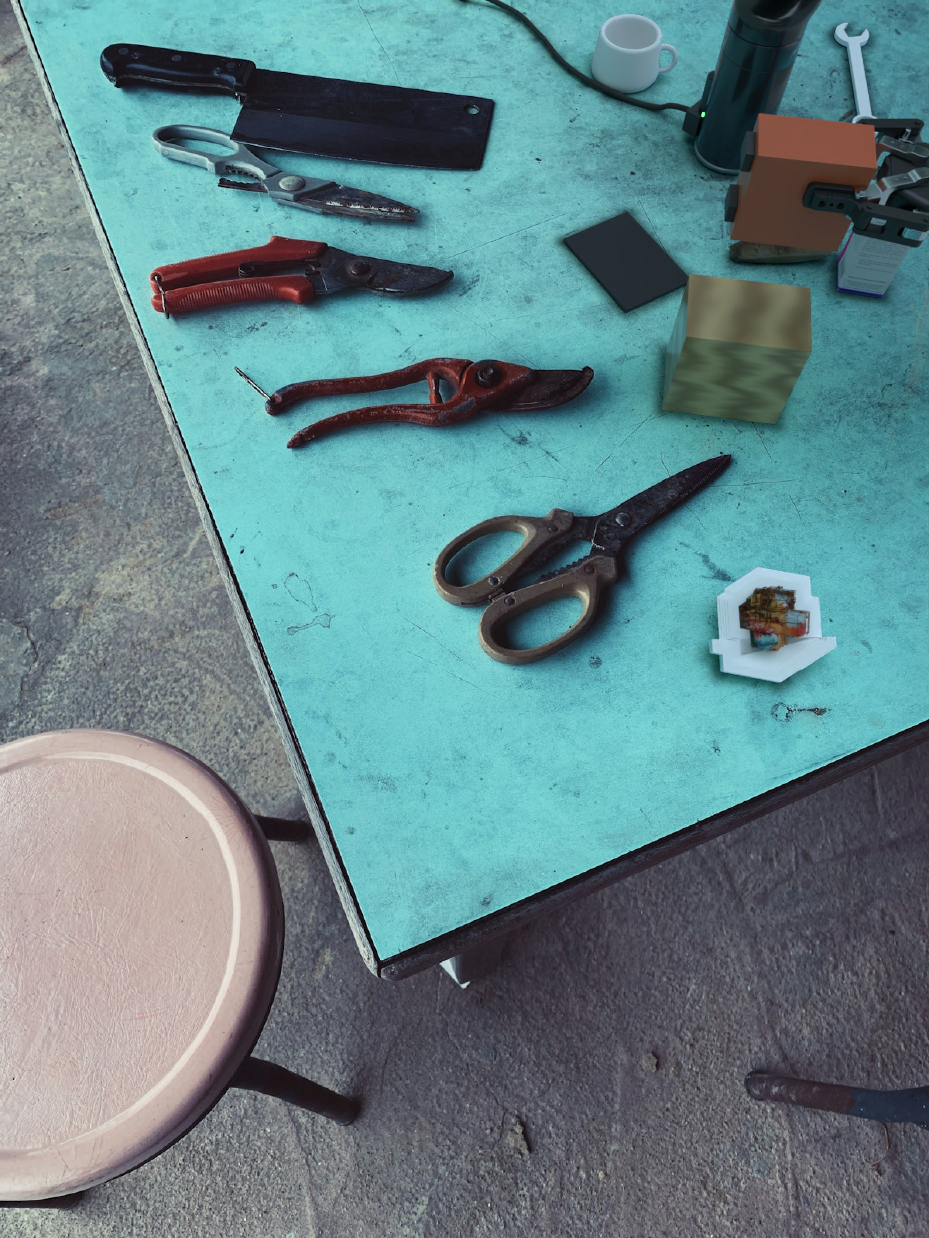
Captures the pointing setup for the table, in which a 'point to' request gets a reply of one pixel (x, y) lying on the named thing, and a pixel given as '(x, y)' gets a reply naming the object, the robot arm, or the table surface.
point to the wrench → (856, 71)
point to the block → (796, 180)
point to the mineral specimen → (769, 626)
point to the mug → (630, 53)
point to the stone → (773, 253)
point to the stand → (737, 348)
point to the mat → (626, 261)
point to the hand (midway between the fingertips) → (805, 169)
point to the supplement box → (868, 264)
